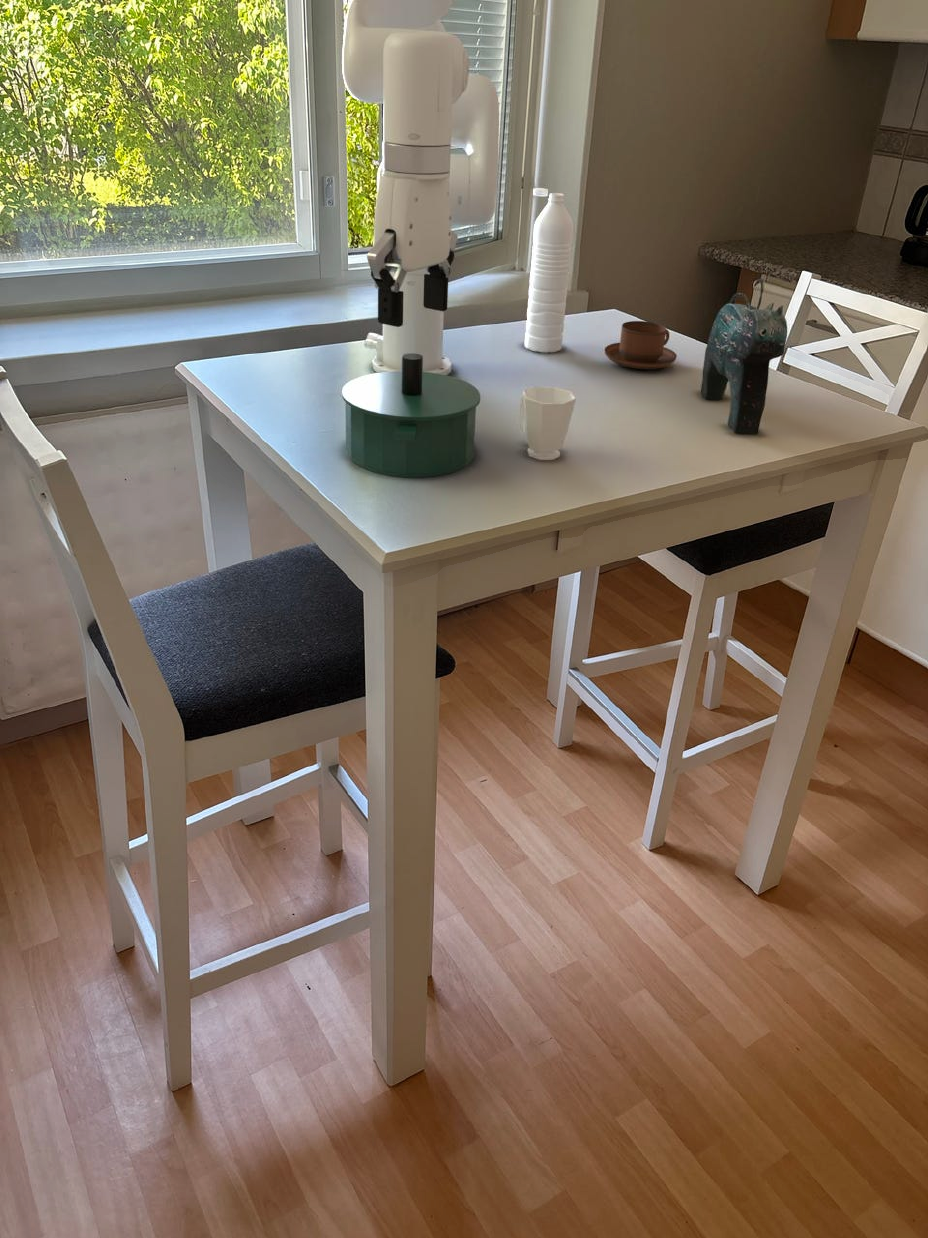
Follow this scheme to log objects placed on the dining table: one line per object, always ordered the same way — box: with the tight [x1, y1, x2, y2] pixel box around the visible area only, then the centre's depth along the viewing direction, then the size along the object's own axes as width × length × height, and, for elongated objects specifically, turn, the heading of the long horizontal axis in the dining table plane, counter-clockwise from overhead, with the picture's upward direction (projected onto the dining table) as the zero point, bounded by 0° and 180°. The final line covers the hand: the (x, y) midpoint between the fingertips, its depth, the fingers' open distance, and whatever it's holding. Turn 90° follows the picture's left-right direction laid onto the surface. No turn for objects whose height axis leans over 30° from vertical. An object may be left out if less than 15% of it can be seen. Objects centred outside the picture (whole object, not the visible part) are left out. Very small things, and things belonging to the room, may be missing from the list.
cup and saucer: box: [604, 320, 678, 370], centre depth 164 cm, size 12×12×6 cm
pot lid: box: [341, 353, 482, 421], centre depth 122 cm, size 17×17×6 cm
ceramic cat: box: [700, 278, 788, 435], centre depth 140 cm, size 20×6×20 cm, turn 5°
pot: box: [344, 401, 477, 478], centre depth 126 cm, size 16×22×8 cm
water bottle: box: [524, 187, 574, 354], centre depth 165 cm, size 9×6×25 cm
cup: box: [518, 386, 577, 461], centre depth 128 cm, size 7×10×8 cm
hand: (413, 316), depth 118 cm, fingers open, 9 cm apart
